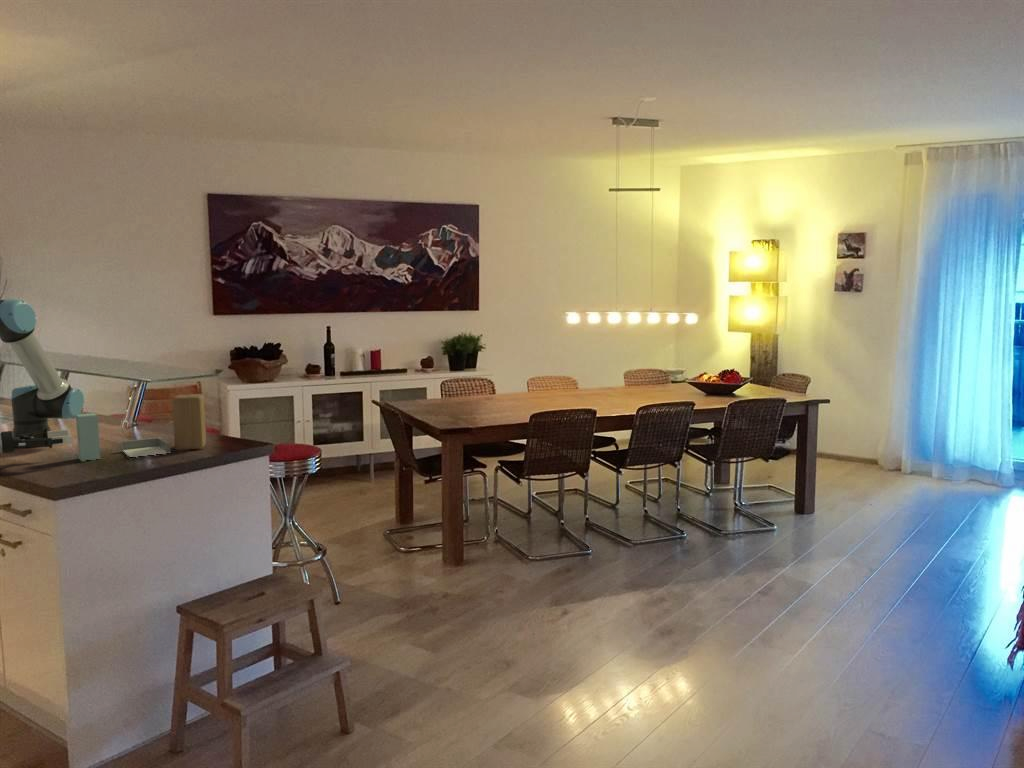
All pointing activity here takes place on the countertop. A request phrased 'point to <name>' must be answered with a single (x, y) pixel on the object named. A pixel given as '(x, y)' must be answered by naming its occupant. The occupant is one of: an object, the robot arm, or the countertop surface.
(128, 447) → the corner jig
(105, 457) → the countertop surface
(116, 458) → the countertop surface
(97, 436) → the teal post
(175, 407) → the wooden block
